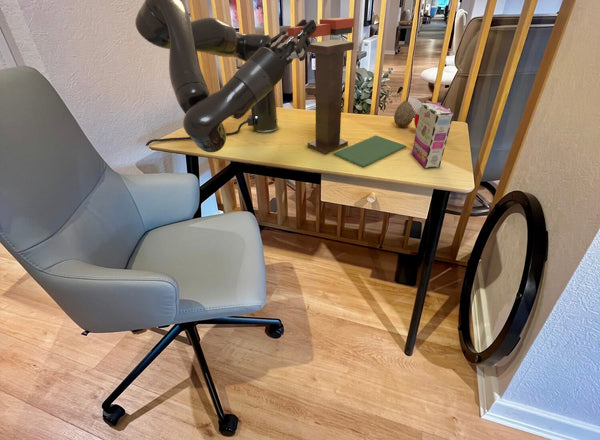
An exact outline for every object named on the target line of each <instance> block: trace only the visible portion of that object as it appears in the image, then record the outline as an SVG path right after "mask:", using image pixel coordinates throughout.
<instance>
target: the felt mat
mask: <svg viewBox="0 0 600 440" xmlns="http://www.w3.org/2000/svg"><path fill="white" fill-rule="evenodd" d="M406 147H407V145H406V144H402V143H400V142H397V141H394V140H391V139H388V138H385V137H382V136H379V135H374V136H371V137H369V138H366V139H364V140H361V141H360V142H357V143H354V144H352V145H350V146H346V147H344V148H341V149H339V150H337V151H334V153H333V156H335V157H338V158H340V159H342V160H345V161H347V162H350V163H352V164H355V165H357V166H359V167H361V168H366V167H368V166H369V165H372V164H374V163H377V162H378V161H380V160H382V159H384V158H386V157H388V156H390V155H392V154H394V153H397V152H398V151H401V150H403V149H405V148H406Z"/></svg>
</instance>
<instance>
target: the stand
mask: <svg viewBox="0 0 600 440" xmlns="http://www.w3.org/2000/svg"><path fill="white" fill-rule="evenodd" d="M310 43H311V45H310V47H309V50H308V52H307V53H312V54H314V60H315V61H314V65H315V66H314V69H315V70H314V71H315V73H314V76H315V80H314V81H315V82H314V83H315V85H314V87H315V91H314V93H315V94H314V95H315V96H314V97H315V98H314V99H315V139H314V140H312V141H309V142H307V148H309V149H312V150H314V151H316V152H318V153H321V154H323V155H324V156H325V155H328V154H330V153H333V152H336V151H339V150H341V149H343V148H346V147H348V145H349V140H345V139H343V138H341V124H342V103H343V102H342V100H343V75H344V55H345V52H348V51H353V50H354V48H355V47H354V45H355V44H354V41H349V40H340V39H327V40H322V41H316V42H310Z"/></svg>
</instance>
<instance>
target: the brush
mask: <svg viewBox="0 0 600 440" xmlns="http://www.w3.org/2000/svg"><path fill="white" fill-rule="evenodd" d="M315 24H316V27H317V29H316V30H315V32H314V33H313V34H312V35H311V36H310V37H309V39H311V38H319V37H325V36H340V35H349V34H352V33H353V28H354V26H355V18H354V17H331V18H319V23H315ZM303 27H304V26H298V27H295V26H290V27H287V32H288V38H289V37H290V36H295V35H296V34H297V33H298V32H299V31H300V30H301V29H302V28H303ZM299 39H300V37H299V38H298V40H299Z"/></svg>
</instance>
